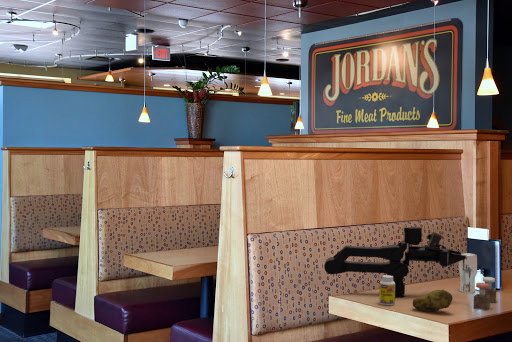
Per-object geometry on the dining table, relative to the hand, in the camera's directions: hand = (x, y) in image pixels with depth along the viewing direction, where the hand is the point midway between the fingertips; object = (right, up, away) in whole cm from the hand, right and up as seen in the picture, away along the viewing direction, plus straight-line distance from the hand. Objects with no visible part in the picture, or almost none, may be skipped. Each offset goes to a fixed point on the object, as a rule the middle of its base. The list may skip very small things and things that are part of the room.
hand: (463, 255), depth 237 cm
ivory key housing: (+9, -17, -3) cm, 19 cm away
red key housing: (+2, -17, -14) cm, 22 cm away
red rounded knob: (+2, -13, -14) cm, 20 cm away
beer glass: (+6, -17, +14) cm, 22 cm away
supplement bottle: (-31, -16, -11) cm, 37 cm away
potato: (-18, -17, -20) cm, 32 cm away
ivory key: (+9, -13, -3) cm, 16 cm away
